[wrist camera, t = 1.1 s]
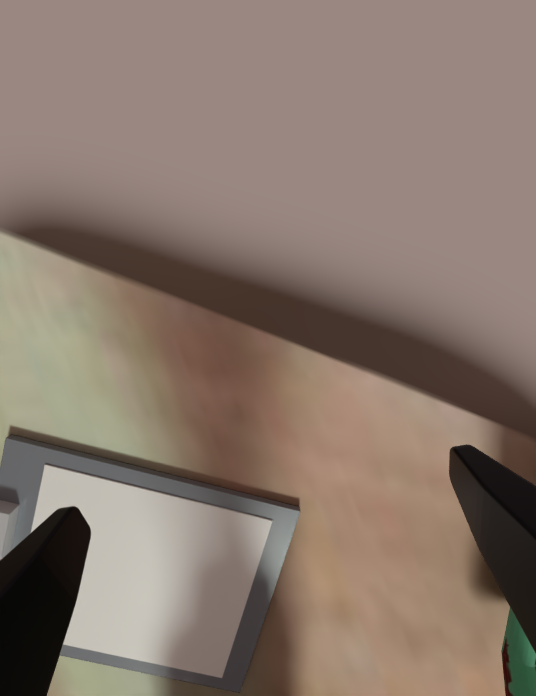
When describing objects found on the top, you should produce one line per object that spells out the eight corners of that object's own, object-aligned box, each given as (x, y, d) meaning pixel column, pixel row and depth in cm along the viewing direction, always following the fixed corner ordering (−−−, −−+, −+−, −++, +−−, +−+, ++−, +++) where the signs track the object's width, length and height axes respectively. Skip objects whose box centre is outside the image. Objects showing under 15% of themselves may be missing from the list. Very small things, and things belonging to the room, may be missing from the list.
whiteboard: (240, 685, 26) (239, 709, 25) (-26, 629, 25) (-44, 651, 24) (299, 507, 24) (302, 521, 23) (11, 434, 23) (-6, 445, 21)
